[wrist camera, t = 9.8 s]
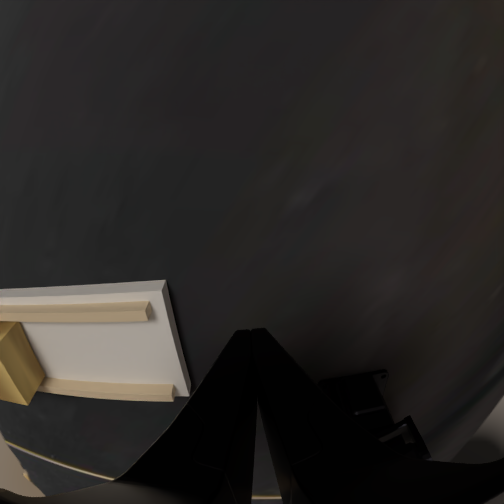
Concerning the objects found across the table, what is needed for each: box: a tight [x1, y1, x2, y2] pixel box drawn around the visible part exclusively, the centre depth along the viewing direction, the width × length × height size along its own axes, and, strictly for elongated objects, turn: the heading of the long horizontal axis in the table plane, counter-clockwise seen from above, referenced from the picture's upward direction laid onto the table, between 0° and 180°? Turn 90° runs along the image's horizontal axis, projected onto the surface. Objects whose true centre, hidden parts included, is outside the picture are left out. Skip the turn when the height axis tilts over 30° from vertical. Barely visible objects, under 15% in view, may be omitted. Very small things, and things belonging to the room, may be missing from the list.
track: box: [0, 280, 191, 401], centre depth 21 cm, size 22×10×6 cm, turn 94°
